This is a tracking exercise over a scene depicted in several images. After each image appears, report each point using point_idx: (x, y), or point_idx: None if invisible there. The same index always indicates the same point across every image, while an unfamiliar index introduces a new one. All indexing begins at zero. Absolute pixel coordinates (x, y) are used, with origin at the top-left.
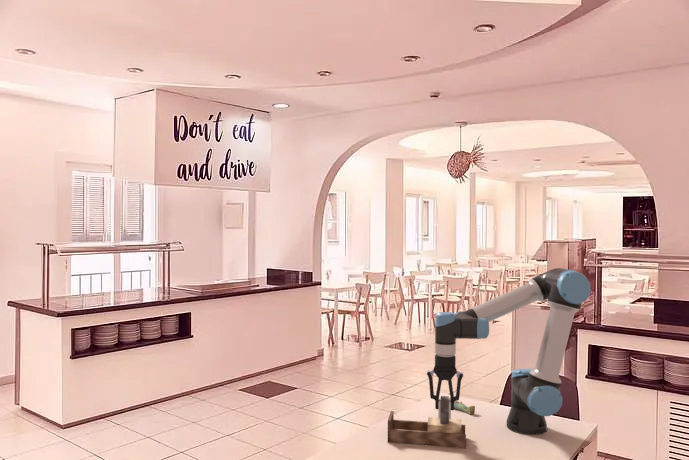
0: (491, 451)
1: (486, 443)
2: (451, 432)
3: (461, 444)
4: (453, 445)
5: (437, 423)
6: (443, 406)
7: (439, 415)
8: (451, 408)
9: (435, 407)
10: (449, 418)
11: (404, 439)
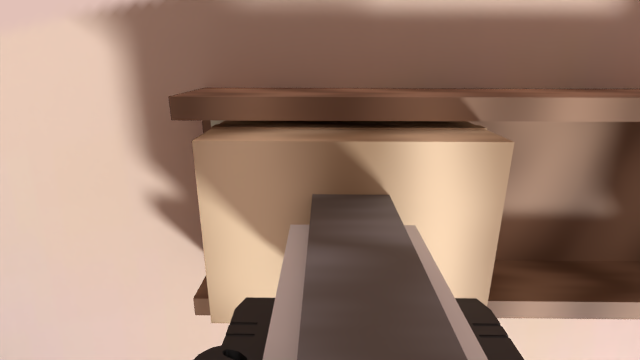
0: (42, 79)
1: (90, 203)
2: (289, 130)
3: (225, 89)
4: (281, 89)
5: (415, 192)
6: (387, 292)
7: (412, 242)
8: (269, 311)
9: (490, 312)
10: (302, 230)
11: (631, 91)
